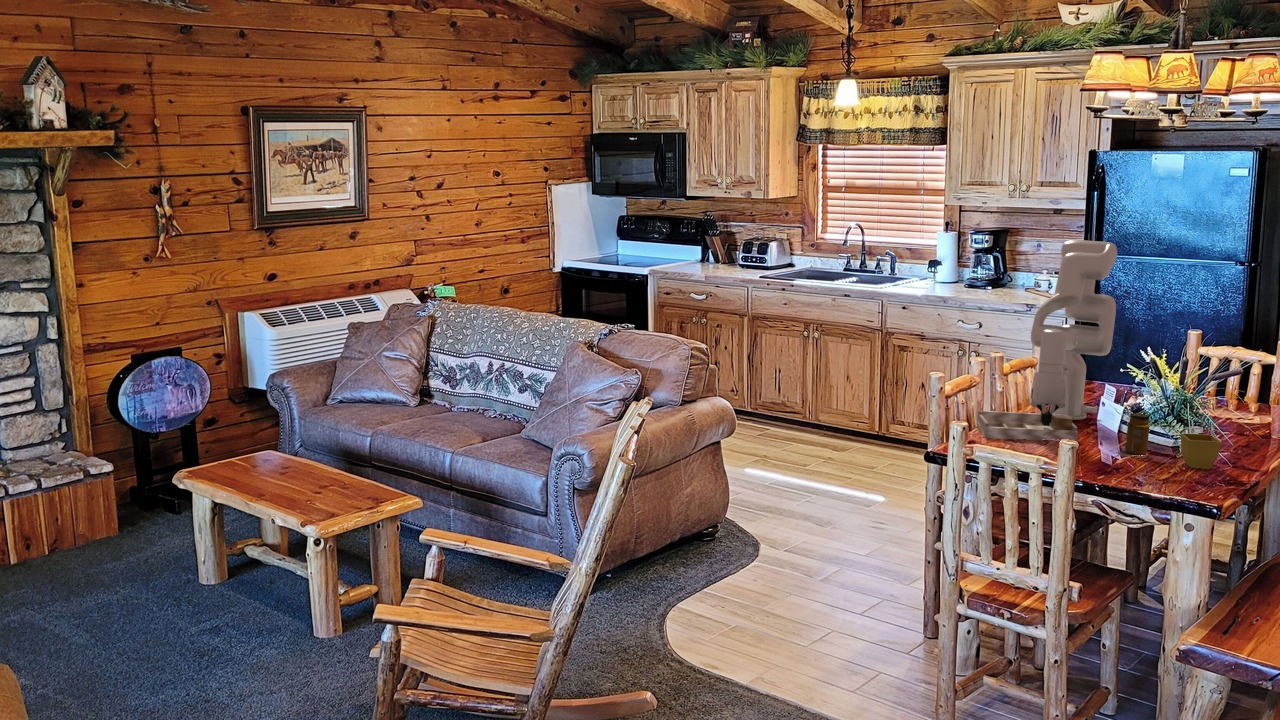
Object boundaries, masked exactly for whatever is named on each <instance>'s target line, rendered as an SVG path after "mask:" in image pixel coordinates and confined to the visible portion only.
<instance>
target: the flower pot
mask: <svg viewBox="0 0 1280 720" xmlns="http://www.w3.org/2000/svg"><path fill="white" fill-rule="evenodd" d="M1221 446H1222V441H1221V440H1219V439H1218V438H1217V437H1216V436H1214V435H1212V434H1200V433H1184V432H1181V433H1180V449H1181V450H1180V451H1181V456H1182V458H1183V460H1184V461H1183V462H1184V463H1185V465H1186V466H1188V467H1189V468H1190V467H1191V468H1190V469H1192V468H1201V469H1200V470H1206V469H1207V470H1210V469H1211V468H1212V467H1213V466H1215V465H1214V464H1216V461H1217V460H1218V457H1219V453H1220V449H1221Z"/></svg>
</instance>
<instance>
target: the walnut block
mask: <svg viewBox="0 0 1280 720" xmlns="http://www.w3.org/2000/svg"><path fill="white" fill-rule="evenodd" d="M1072 423H1073V420H1072V418H1071V417H1070V416H1068V415H1054V414H1052V421H1051V427H1052V428H1053V429H1054V430H1071V427H1072Z"/></svg>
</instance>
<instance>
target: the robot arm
mask: <svg viewBox="0 0 1280 720" xmlns="http://www.w3.org/2000/svg"><path fill="white" fill-rule="evenodd" d="M1060 250H1061V262H1060V266H1059V272H1058V275H1057V279H1056V286H1055V289H1054V290H1055V291H1054V293H1053V295H1052V296H1051V297H1050V298H1048V299H1046V300H1045V302H1044V303H1042V304H1041V306H1040V307H1039V308H1038V310H1037V311H1036V313H1035V316H1034V318H1033V323H1032V328H1031V331H1030V342H1031V344H1032V345H1033V347H1037V348H1039V349H1040V350H1039V358H1038V369H1037V370H1035V372H1034V375H1033V377H1032V378H1033V379H1032V383H1031V388H1030V395H1029V396H1030V402H1029V405H1030V406H1031V407H1033V408H1036V409H1038V410H1039V411H1040V412H1041V413H1040V414H1041V423H1042V424H1043V425H1044V426H1046V425H1047V426H1049V425H1050V423H1051V421H1052V414H1062V415H1068V416H1070V417H1071V418H1072V421H1073V420H1074V421H1079V420H1084V419H1087V413H1097V412H1098V407H1096V406H1092V405H1085V404H1084V394H1085V385H1086V375H1087V364H1086V362H1085V360H1084V358H1083V357H1082V356H1081V355H1090V356H1098V357H1100V356H1101V357H1102V356H1107V355H1109V353H1110V352H1111V350H1112V344H1113V339H1114V338H1113V337H1114V331H1115V323H1116V322H1115V321H1116V314H1117V304H1116V300H1115V298H1114V297H1112V296H1111V295H1108V294H1099V293H1095V287H1096V281H1104V280H1105V279H1106V278H1107V277H1108V276H1109V274H1110V272H1111V270H1112V269H1113V267H1114V266H1115V264H1116V261H1117V258H1118V248H1117V246H1116V245H1115V244H1114V242H1113V243H1112V242H1111V241H1100V240H1099V241H1097V240H1085V239H1073V240H1072V239H1071V240H1067V241H1064V242H1063V244H1062V245H1061V249H1060ZM1062 309H1064V314H1065V315H1064V316H1066V318H1067V319H1069V320H1072V321H1077V322H1086V323H1087V322H1088V323H1096V324H1098V326H1092V325H1083V324H1074V323H1073V324H1072V323H1071V324H1064V325H1053V324H1044V323H1045V320H1046V319H1047V317H1049V316H1050V315H1052V313H1054V312H1057V311H1059V310H1062ZM1046 405H1048V408H1047V406H1046Z"/></svg>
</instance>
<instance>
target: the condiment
mask: <svg viewBox="0 0 1280 720" xmlns="http://www.w3.org/2000/svg"><path fill="white" fill-rule="evenodd" d="M1129 417H1130V418H1129V420H1128V423H1127V429H1126V438H1125V448H1124V449H1122V450H1119V451H1116V454H1120V455H1123V456H1127V457H1133V458H1135V457H1134V456H1132V455H1140V456H1138V457H1136V458H1139V459H1141V458H1143V457H1145V456H1141V455H1146V453H1149V452H1147V451H1148V443H1149V437H1150V436H1149V433H1150V427H1151V426H1150V424H1149V423H1150V416H1149V415H1148V414H1145V413H1139V412H1137V413H1136V412H1133V413H1130V415H1129Z"/></svg>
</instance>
